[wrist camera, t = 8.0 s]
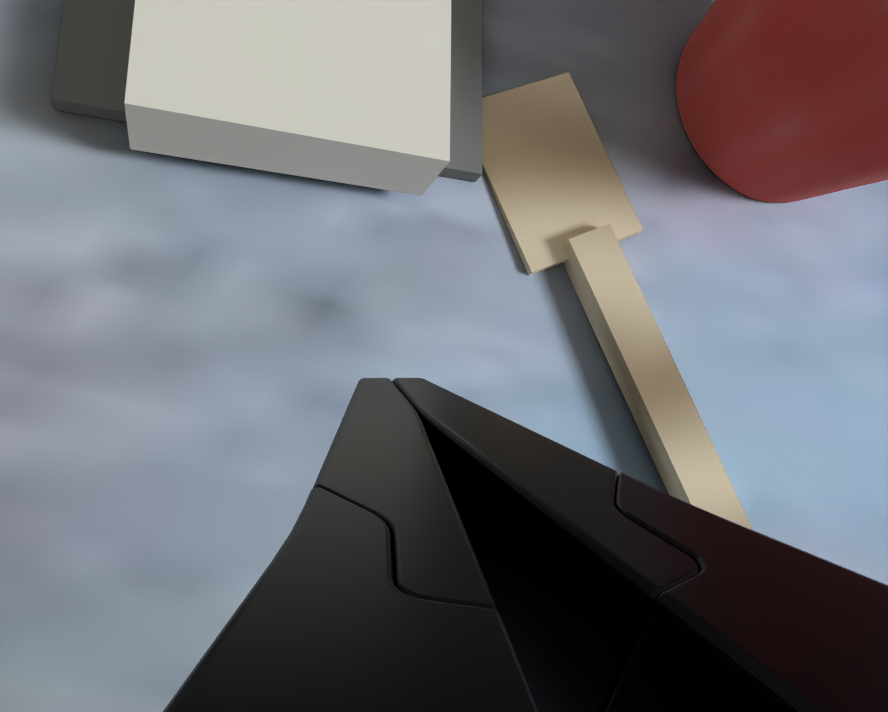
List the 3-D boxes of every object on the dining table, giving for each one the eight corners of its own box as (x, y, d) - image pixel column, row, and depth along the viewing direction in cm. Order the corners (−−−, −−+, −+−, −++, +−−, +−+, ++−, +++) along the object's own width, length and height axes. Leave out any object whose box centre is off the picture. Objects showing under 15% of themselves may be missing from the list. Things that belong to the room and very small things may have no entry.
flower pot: (817, 299, 27) (1130, 205, 18) (593, 128, 25) (824, -73, 16) (887, 100, 31) (1178, -61, 22) (695, -66, 29) (932, -320, 20)
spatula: (783, 548, 24) (804, 550, 23) (678, 611, 22) (696, 615, 22) (562, 79, 25) (574, 63, 24) (452, 113, 24) (460, 97, 23)
